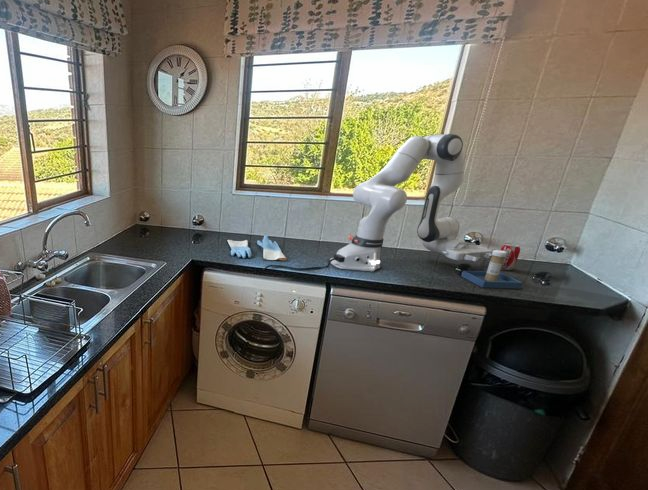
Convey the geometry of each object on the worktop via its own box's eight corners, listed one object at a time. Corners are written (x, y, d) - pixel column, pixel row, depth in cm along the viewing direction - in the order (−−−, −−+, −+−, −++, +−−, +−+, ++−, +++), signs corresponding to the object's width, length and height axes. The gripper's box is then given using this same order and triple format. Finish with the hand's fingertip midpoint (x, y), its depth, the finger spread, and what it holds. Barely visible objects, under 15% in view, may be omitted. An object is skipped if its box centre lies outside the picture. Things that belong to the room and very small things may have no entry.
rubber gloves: (231, 258, 204) (232, 246, 201) (227, 241, 234) (228, 230, 232) (286, 261, 201) (288, 248, 198) (275, 243, 231) (276, 232, 229)
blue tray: (482, 287, 171) (484, 281, 170) (460, 276, 183) (462, 270, 182) (520, 288, 170) (522, 282, 169) (496, 277, 182) (498, 271, 181)
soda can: (516, 272, 189) (525, 247, 185) (497, 270, 191) (506, 245, 187) (509, 267, 195) (517, 243, 191) (491, 265, 197) (499, 242, 193)
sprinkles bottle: (498, 281, 176) (508, 251, 171) (494, 283, 173) (504, 253, 168) (486, 277, 179) (495, 249, 174) (481, 279, 177) (491, 250, 172)
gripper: (440, 244, 186) (469, 253, 174) (475, 242, 191) (505, 250, 178) (436, 257, 189) (464, 267, 176) (471, 254, 193) (500, 264, 181)
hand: (485, 258), depth 177 cm, fingers open, 8 cm apart
